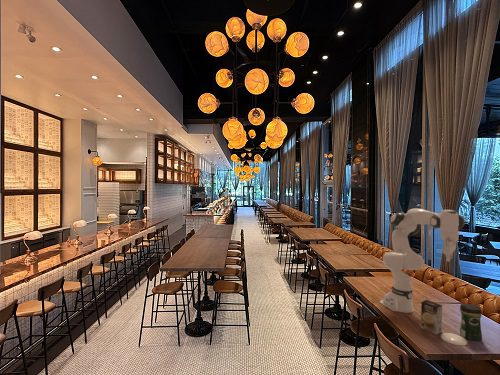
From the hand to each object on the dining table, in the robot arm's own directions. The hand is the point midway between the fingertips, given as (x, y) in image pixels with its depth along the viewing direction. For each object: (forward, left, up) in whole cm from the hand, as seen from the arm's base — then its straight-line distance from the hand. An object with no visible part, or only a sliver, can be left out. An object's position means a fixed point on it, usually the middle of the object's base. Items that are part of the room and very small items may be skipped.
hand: (449, 259), depth 173 cm
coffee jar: (+12, 0, -41) cm, 43 cm away
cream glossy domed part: (+10, -12, -41) cm, 44 cm away
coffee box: (-2, -12, -41) cm, 43 cm away
